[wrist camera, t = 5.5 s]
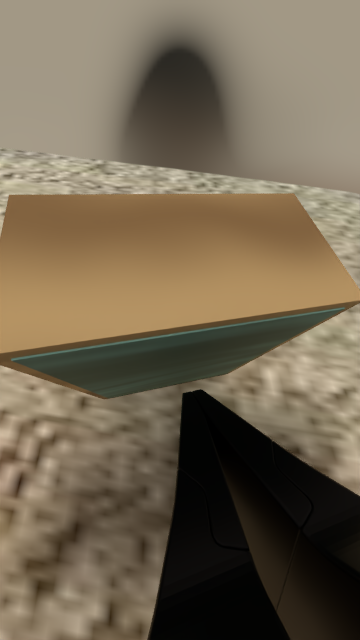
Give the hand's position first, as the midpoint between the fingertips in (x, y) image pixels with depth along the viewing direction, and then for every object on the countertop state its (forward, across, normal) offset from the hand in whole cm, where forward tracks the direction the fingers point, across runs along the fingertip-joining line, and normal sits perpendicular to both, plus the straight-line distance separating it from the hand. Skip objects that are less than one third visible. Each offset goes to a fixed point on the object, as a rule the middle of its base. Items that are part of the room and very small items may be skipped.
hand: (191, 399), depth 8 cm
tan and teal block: (+8, 0, +2) cm, 8 cm away
